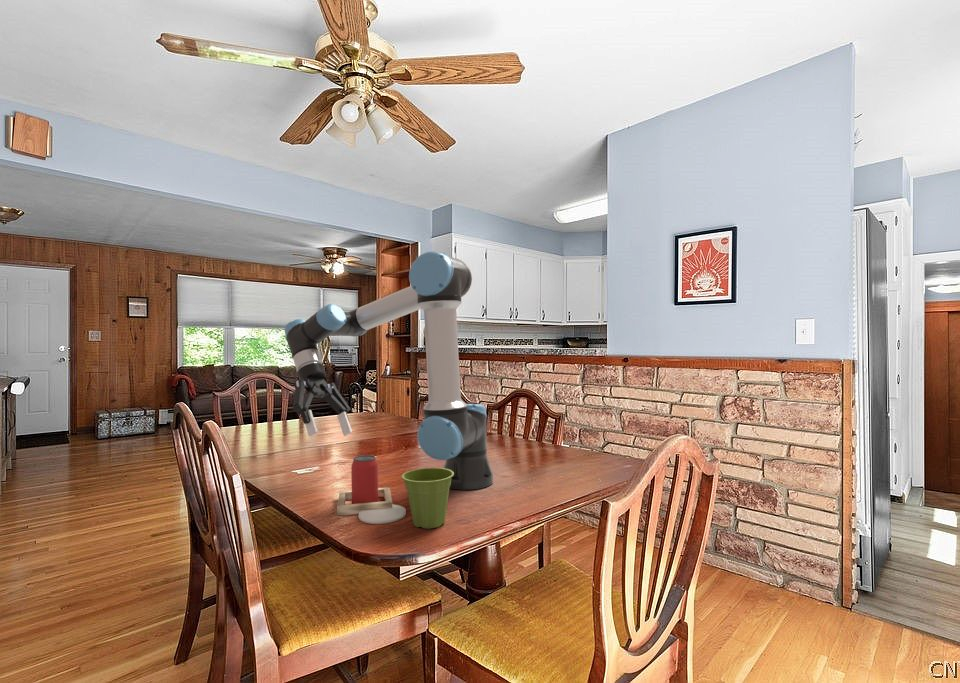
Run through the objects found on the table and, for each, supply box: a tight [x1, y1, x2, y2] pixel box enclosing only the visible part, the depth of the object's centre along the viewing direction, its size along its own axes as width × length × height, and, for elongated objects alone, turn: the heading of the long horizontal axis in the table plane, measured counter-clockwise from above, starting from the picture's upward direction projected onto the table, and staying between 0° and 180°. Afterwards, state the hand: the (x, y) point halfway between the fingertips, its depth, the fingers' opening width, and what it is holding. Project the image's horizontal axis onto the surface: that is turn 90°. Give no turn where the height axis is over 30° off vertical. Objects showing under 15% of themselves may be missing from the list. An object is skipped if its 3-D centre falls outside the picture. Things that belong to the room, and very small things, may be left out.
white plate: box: [358, 503, 407, 525], centre depth 117 cm, size 11×11×1 cm
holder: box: [336, 487, 393, 517], centre depth 125 cm, size 13×13×2 cm
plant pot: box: [401, 467, 454, 530], centre depth 111 cm, size 12×12×11 cm
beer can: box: [350, 454, 379, 504], centre depth 125 cm, size 7×7×12 cm
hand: (331, 434), depth 136 cm, fingers open, 13 cm apart
